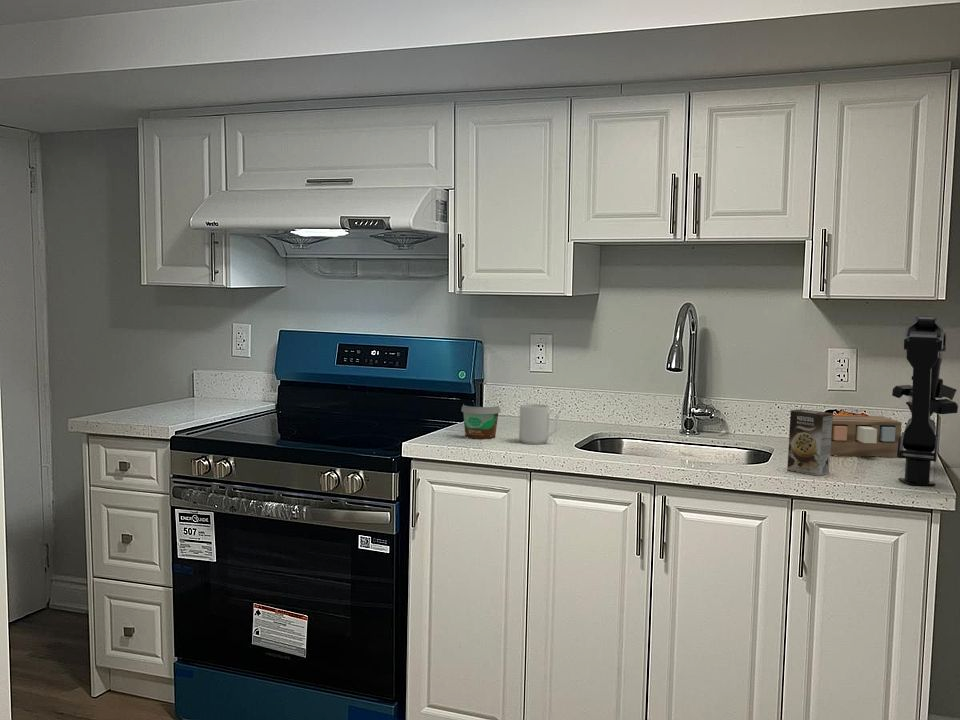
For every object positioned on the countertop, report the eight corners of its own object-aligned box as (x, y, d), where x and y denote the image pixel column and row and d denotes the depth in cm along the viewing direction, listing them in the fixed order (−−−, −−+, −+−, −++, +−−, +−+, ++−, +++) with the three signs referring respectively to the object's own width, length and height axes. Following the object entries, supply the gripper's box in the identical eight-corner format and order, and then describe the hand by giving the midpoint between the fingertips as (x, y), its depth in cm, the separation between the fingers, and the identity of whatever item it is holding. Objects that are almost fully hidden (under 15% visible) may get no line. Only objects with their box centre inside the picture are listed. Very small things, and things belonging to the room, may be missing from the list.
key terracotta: (846, 440, 272) (847, 426, 271) (834, 440, 272) (835, 426, 271) (838, 437, 278) (839, 423, 277) (826, 437, 277) (827, 423, 277)
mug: (514, 443, 283) (515, 406, 282) (525, 439, 291) (526, 403, 290) (552, 446, 278) (553, 409, 277) (562, 442, 286) (563, 406, 285)
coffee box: (786, 470, 249) (789, 410, 248) (797, 468, 253) (800, 408, 252) (819, 476, 242) (822, 414, 241) (830, 473, 247) (833, 412, 246)
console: (899, 457, 274) (901, 422, 273) (824, 455, 273) (826, 420, 272) (881, 450, 285) (883, 416, 285) (809, 448, 285) (810, 414, 284)
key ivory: (876, 443, 268) (877, 429, 268) (864, 443, 268) (865, 429, 268) (867, 439, 274) (868, 426, 274) (855, 439, 274) (856, 425, 274)
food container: (456, 438, 288) (457, 406, 287) (460, 435, 294) (461, 403, 293) (496, 440, 286) (497, 408, 285) (499, 437, 292) (500, 405, 291)
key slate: (894, 441, 272) (895, 427, 272) (882, 441, 272) (883, 427, 272) (885, 438, 278) (886, 424, 278) (873, 437, 278) (874, 424, 277)
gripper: (979, 381, 245) (970, 438, 249) (928, 363, 263) (921, 417, 266) (943, 383, 242) (935, 441, 246) (894, 366, 260) (887, 420, 263)
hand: (920, 429), depth 256 cm, fingers closed
